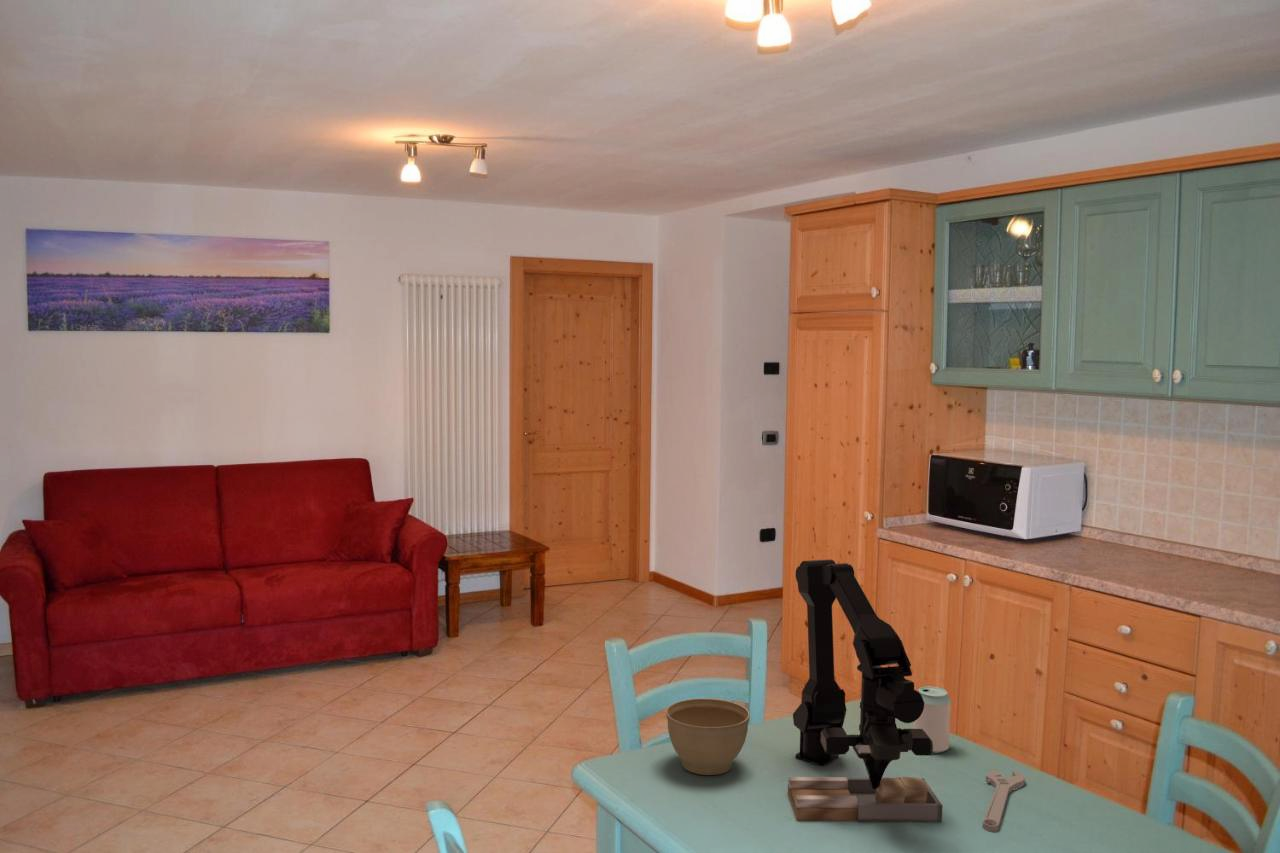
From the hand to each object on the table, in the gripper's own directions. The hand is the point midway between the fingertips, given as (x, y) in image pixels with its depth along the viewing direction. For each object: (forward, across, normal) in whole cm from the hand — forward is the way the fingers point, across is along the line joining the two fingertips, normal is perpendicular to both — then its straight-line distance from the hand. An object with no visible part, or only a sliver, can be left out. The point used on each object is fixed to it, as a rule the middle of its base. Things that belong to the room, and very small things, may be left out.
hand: (874, 788), depth 177 cm
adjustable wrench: (+4, +23, +3) cm, 24 cm away
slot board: (+4, -9, 0) cm, 10 cm away
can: (+4, +18, +27) cm, 33 cm away
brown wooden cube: (+3, +3, 0) cm, 4 cm away
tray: (+4, +3, 0) cm, 5 cm away
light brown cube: (+3, +7, 0) cm, 7 cm away
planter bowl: (+4, -28, +17) cm, 33 cm away
